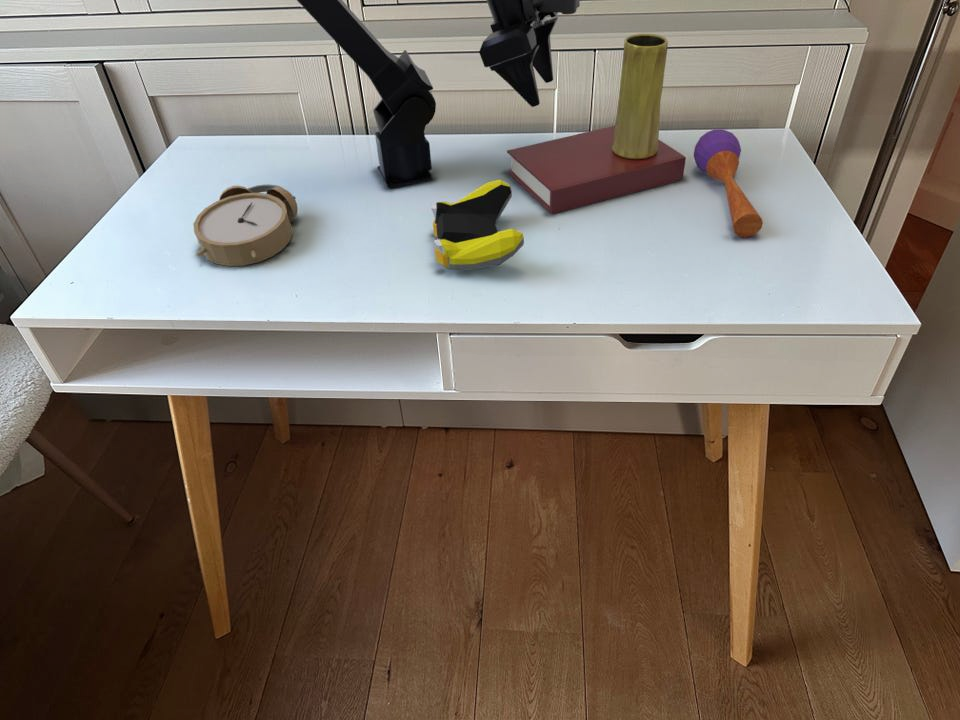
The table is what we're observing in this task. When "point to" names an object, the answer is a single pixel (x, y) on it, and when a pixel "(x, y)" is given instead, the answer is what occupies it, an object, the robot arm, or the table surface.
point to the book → (589, 170)
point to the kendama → (727, 177)
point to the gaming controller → (475, 229)
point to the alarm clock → (246, 225)
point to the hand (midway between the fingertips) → (543, 93)
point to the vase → (640, 96)
